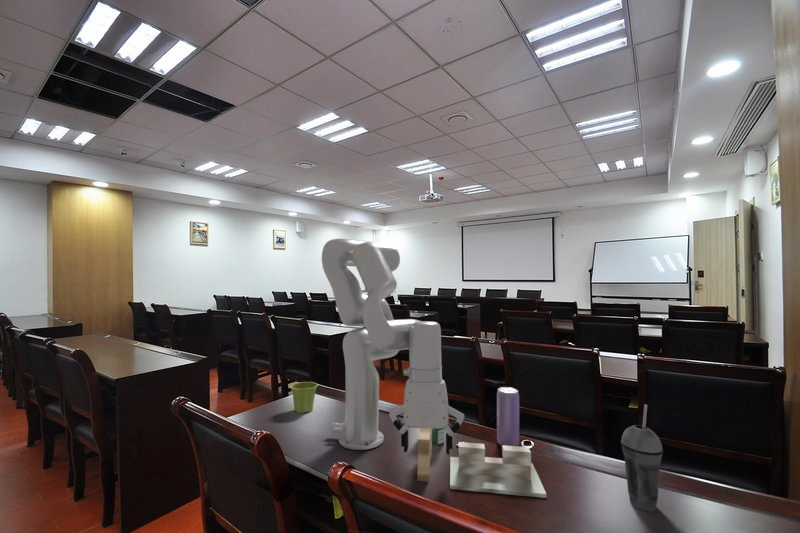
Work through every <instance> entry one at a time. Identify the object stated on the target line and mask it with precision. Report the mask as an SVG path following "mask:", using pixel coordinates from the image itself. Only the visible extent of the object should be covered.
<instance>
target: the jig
mask: <svg viewBox="0 0 800 533" xmlns="http://www.w3.org/2000/svg"><path fill="white" fill-rule="evenodd" d="M501 451H502V452H501V453H502V455H501V456H502V457H489V456H486V447H485V443H478V442H476V443H475V442H466V441H458V456H450V457H449V460H450V462H449V464H450V465H449V469H450V470H449V489H450V490H459V491H460V490H461V491H471V492H477V493H478V492H481V493H490V494H502V495H511V496H512V495H513V496H521V497H533V498H543V499H544V498H545V499H547V497H548V496H547V492H546V490H545V488H544V485H543V484H542V482H541V479H540V476H539V474H538V472H537V470H536V469H535V466H534V464H533V463H532V452H531V450H530V447H529V446H519V445H518V446H506V445H502V446H501Z"/></svg>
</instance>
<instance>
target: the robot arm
mask: <svg viewBox="0 0 800 533" xmlns="http://www.w3.org/2000/svg"><path fill="white" fill-rule="evenodd" d="M400 255H401V254H400V252H399V251H398V249H397V248H396V247H395V246H394V245H392V244H389V243H382V242H381V243H380V242H373V241H367V240H358V239H350V238H333V239H330V240H328V241H326V242H325V244H324V245H323V247H322V251H321V264H322V269H323V272H324V275H325V277H326V279H327V281H328V282H329V285H330V286H331V290H332V293H333V296H334V300H335V304H336V308H337V312H338V315H339V318H340V321H341V322H342V324H343V325H345V326H347V327H359V328H353V329H352V330H350V331H349V330H348V332H347V333H346V334H345V335H344V337H343V339H342V340H343V341H342V351H343V357H344V358H343V359H344V365H345V395H344V396H345V397H344V399H345V401H344V422H343V421H342V422H341V423H338V422H330V423H331V424H330V430H331V432H332V433H334V434H336V433H339V434H340V435H339V437H338V443H339V444H340V445H341V446H342V447H343V448H345V449H348V450H353V451H354V450H355V451H363V450H364V451H365V450H371V449H374V448H377V447H379V446H380V445H382V444H383V443H384V438H385V436H384V434H383V432H381V431H380V430H379V418H380V417H379V413H380V412H379V408H380V407H379V406H380V405H379V404H380V376H379V372H378V370H377V369H376V367H375V365H374V363H373V361H378V360H384V359H389V358H392V357H395V356H396V355H398V353H399V352H400V351H406V350H409V353H408V355H409V356H408V358H409V361H408V362H409V367H408V368H406V369H405V368H404V369H403V376H406V377H408V379H407V380H406V382H405V388H404V397H403V404H402V405H400V406H399V407H396V408H394V409H392V410H390V412H389V415H388V416H389V417H390V420H391V421H392V424H393V426H394V427H395V428H396V429H397V430H398V432H399V433H400V438H401V439H400V440H401V441H400V442H401V445H400V446H401V447H403V453H407V452H408V449H409V428H411V429H413V428H414V429H415V428H416V429H420V428H430V429H442V428H443V429H444V430H445V431H444V432H445V444H446V445H445V454H446V455H449V456H450V450H453V436H454V434H455V433H456V432H457V431H458V430H460V428H461V426H462V423H463V421H464V419H465V414H464V413H463V412H461V411H459V410H457V409H456V408H454V407H452V406H450V405H449V399H448V392H447V391H448V390H447V385H446V382H445V380H444V379H443V374H442V372H443V370H442V369H443V365H442V330H441V325H440V323H438V322H436V321H429V320H428V321H425V320H424V321H423V320H422V321H421V320H418V319H415V318H414V319H413V318H405V319H403V318H401V319H394V316H393V313H392V310H391V308H390V305H389V303H388V302H387V300H386V298H388V297H389V296H391V295H392V294H393V293H394V292H395V291H396V289H397V287H398V284H397V283H398V282H397V280H396V278H395V276H394V274H393V272H395V271H396V270H397V269H398V268H399V266H400V262H401V256H400ZM348 267H356V270H357V272H358V274H359V277H360V279H361V282H362V283H363V287H364V288H365V290H366V293H367V294H365V293H364V292H363V290H362V288H361V284H360V281H359V279H358V278H357V277H356V276H355V274H354V272H352V271H351V270H350V269H349V268H348ZM402 413H403V422H402V421H401V420H400V419H399V417H398V415H400V414H402ZM449 415H451V416H453V417H455V418H456V420H455V421H454V423H453V424H452V425H451V423H450V422H449Z"/></svg>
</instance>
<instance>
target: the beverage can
mask: <svg viewBox="0 0 800 533" xmlns="http://www.w3.org/2000/svg"><path fill="white" fill-rule="evenodd" d="M496 442H497V443H498V445H500V447H502V445H506V446H519V445H520V394H519V390H518V389H516V388H514V387H509V386H508V387H507V386H502V387H499V388H497V392H496Z"/></svg>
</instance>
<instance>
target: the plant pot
mask: <svg viewBox="0 0 800 533" xmlns="http://www.w3.org/2000/svg"><path fill="white" fill-rule="evenodd" d="M318 386H319V384H318V383H316V382H313V381H301V382H296V383H293V384H291V385H290V386H289V388H290V389H291V393H292V398H293V407H294V412H295V413H297V414H305V413H310V412H312V411H313V410H314V403H315V401H314V400H315V396H316V391H317V388H318Z"/></svg>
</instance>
